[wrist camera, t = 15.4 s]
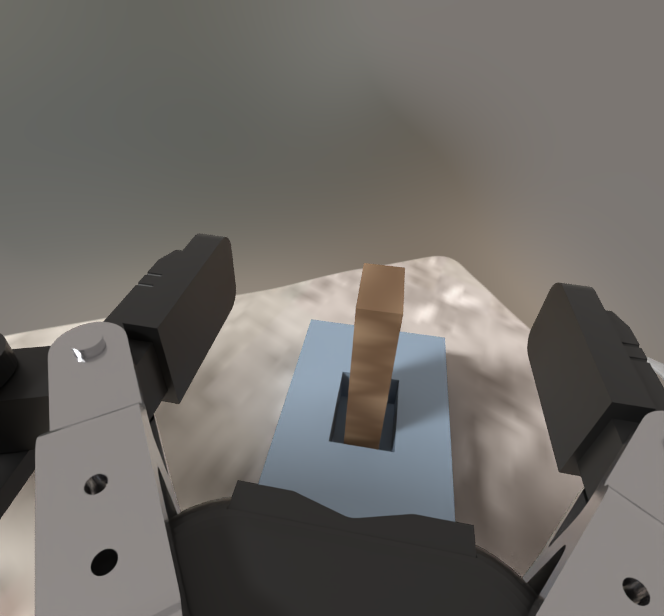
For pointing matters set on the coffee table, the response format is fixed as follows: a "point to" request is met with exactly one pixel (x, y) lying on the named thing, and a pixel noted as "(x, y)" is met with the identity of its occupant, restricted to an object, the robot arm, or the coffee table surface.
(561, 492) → the coffee table surface
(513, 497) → the coffee table surface
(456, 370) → the coffee table surface
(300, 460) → the end cap
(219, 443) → the coffee table surface
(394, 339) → the slat
